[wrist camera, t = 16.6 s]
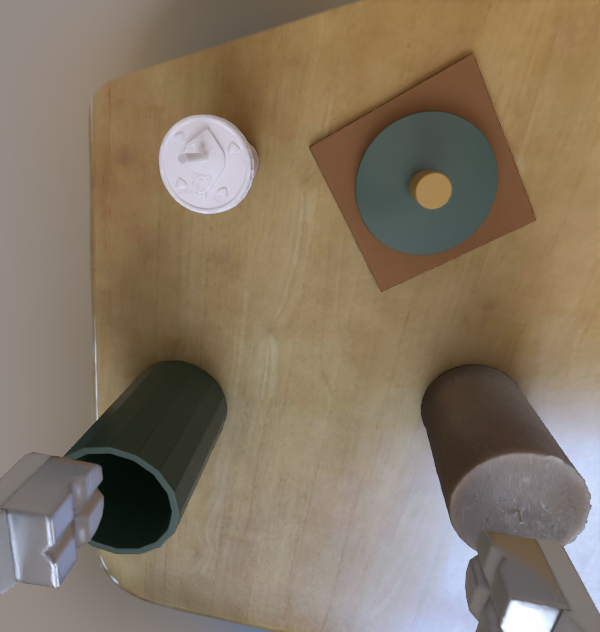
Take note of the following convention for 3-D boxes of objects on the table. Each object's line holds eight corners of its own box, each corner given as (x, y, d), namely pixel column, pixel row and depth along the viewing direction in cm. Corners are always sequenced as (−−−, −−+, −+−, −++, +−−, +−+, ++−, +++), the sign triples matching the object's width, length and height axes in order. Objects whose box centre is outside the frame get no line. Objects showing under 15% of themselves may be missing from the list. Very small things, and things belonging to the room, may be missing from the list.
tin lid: (337, 229, 40) (335, 240, 35) (382, 93, 36) (387, 84, 31) (459, 268, 40) (474, 285, 35) (518, 136, 36) (544, 135, 31)
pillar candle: (407, 434, 47) (431, 556, 33) (441, 350, 43) (483, 448, 29) (499, 459, 47) (563, 593, 33) (541, 378, 43) (631, 489, 29)
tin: (126, 428, 50) (43, 531, 37) (141, 347, 47) (55, 429, 33) (215, 456, 50) (165, 569, 37) (236, 378, 47) (190, 472, 33)
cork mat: (309, 147, 38) (309, 147, 38) (471, 54, 35) (473, 52, 34) (380, 290, 42) (381, 292, 41) (534, 219, 38) (536, 220, 38)
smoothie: (280, 129, 38) (243, 119, 25) (268, 206, 40) (228, 234, 27) (205, 114, 38) (130, 97, 25) (197, 192, 41) (125, 213, 28)
